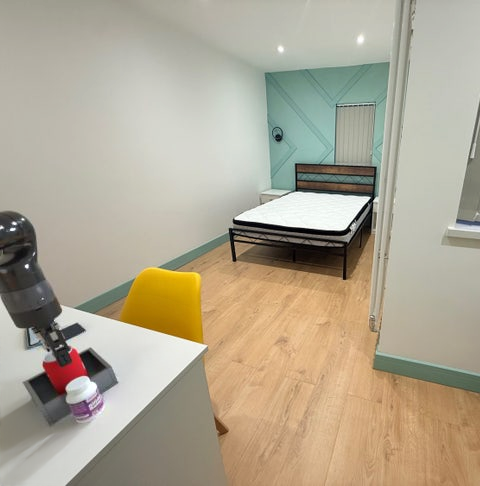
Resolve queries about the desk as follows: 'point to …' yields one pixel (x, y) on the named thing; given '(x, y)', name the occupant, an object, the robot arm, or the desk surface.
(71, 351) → the beverage can
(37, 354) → the desk surface
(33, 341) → the smartphone
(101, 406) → the pill bottle
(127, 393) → the desk surface
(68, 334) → the mat
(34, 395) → the basin
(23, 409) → the desk surface
